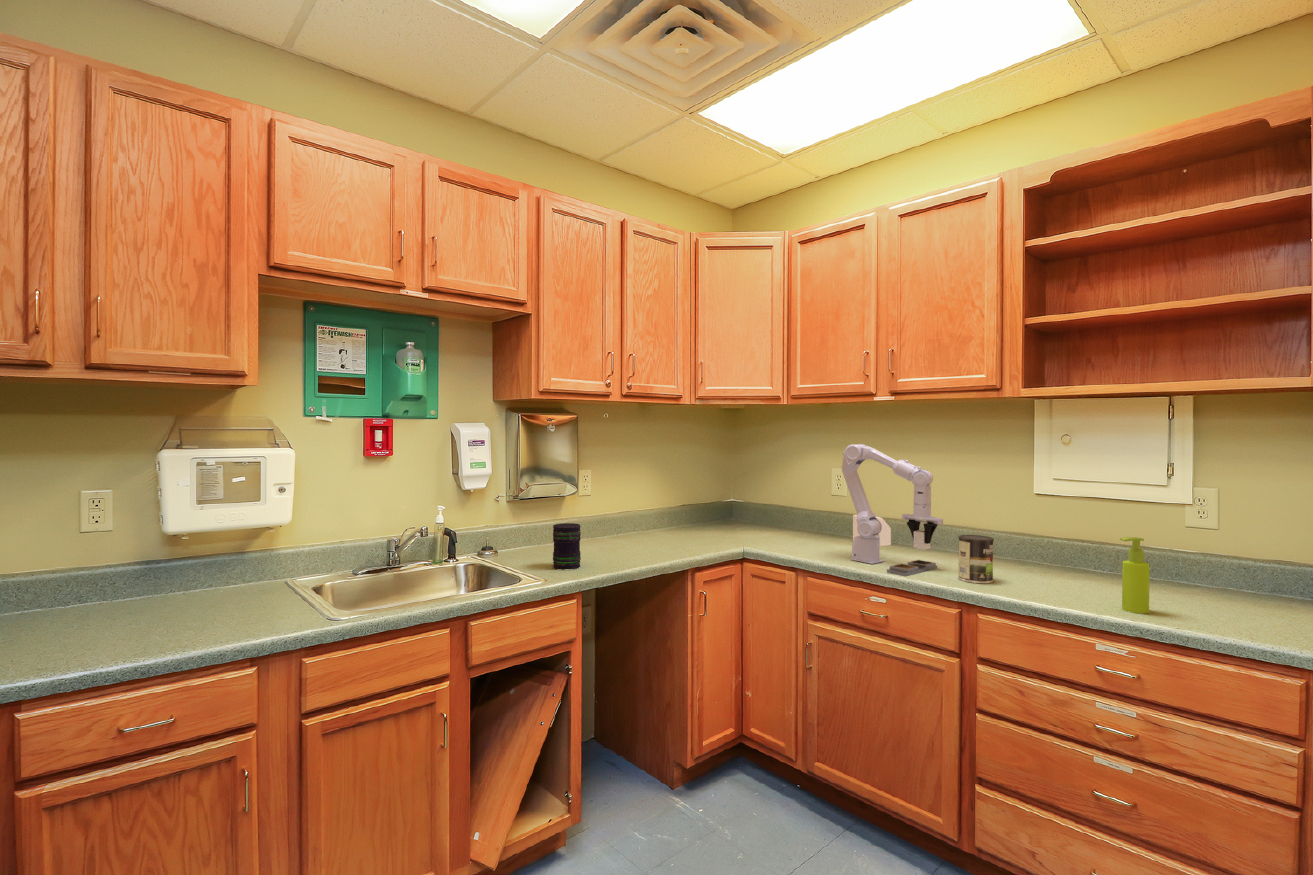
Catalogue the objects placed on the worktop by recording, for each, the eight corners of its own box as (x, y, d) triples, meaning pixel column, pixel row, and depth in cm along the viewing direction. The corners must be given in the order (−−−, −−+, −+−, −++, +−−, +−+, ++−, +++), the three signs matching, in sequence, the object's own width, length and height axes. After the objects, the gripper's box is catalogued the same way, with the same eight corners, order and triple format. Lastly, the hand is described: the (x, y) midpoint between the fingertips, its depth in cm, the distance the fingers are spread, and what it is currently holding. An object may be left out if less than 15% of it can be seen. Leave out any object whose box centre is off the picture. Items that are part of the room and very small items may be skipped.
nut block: (913, 547, 223) (913, 529, 223) (919, 546, 226) (919, 528, 226) (924, 549, 220) (924, 531, 220) (930, 548, 222) (930, 530, 222)
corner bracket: (852, 542, 274) (853, 514, 274) (874, 540, 277) (875, 513, 277) (868, 546, 264) (868, 518, 263) (890, 545, 267) (891, 517, 267)
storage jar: (547, 568, 222) (547, 526, 222) (563, 562, 230) (563, 522, 230) (570, 571, 217) (570, 528, 217) (586, 565, 226) (586, 524, 226)
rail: (886, 572, 216) (886, 566, 216) (918, 564, 228) (918, 559, 228) (905, 576, 211) (905, 570, 211) (937, 568, 223) (937, 562, 222)
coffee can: (998, 580, 205) (999, 537, 205) (984, 585, 198) (985, 541, 198) (966, 574, 213) (967, 533, 213) (952, 579, 206) (952, 536, 206)
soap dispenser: (1113, 607, 174) (1113, 535, 174) (1136, 607, 174) (1137, 535, 174) (1130, 613, 168) (1131, 539, 168) (1154, 613, 168) (1155, 539, 168)
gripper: (947, 505, 219) (947, 544, 219) (909, 501, 231) (909, 538, 231) (937, 506, 215) (936, 546, 215) (898, 502, 227) (898, 540, 227)
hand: (921, 542), depth 223 cm, fingers closed on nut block, 4 cm apart
